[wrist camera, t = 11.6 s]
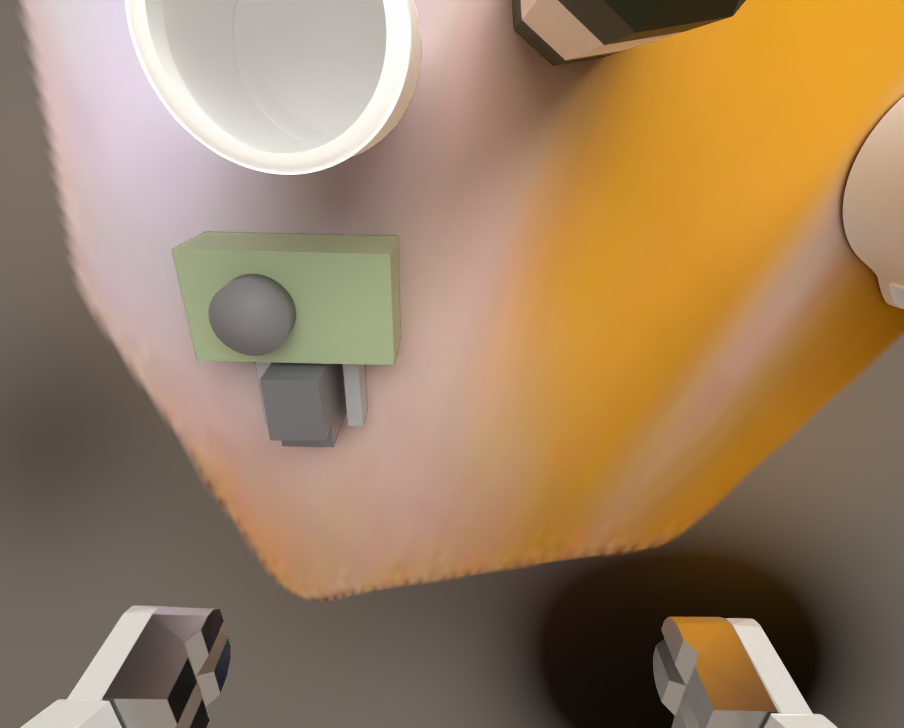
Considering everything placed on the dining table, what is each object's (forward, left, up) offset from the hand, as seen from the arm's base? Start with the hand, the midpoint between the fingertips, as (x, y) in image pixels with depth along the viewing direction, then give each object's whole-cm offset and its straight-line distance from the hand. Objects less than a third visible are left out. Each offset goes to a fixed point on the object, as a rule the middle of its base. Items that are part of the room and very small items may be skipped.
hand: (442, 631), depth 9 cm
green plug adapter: (+11, +8, -31) cm, 34 cm away
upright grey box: (+11, +12, -31) cm, 35 cm away
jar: (+7, -11, -31) cm, 34 cm away
